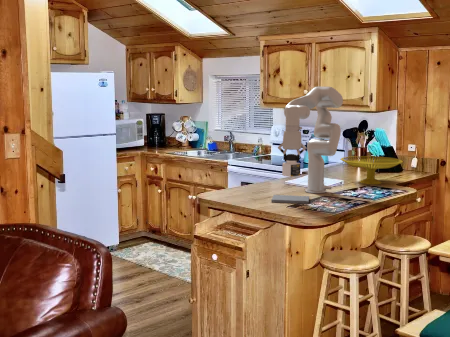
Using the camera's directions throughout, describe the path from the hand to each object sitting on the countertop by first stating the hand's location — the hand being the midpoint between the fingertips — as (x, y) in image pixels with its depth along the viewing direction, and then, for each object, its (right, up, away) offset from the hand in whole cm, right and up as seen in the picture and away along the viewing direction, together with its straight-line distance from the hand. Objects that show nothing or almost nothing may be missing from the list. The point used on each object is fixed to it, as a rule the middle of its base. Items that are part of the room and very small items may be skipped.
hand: (291, 161), depth 327 cm
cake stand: (+59, -13, +64) cm, 88 cm away
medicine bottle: (0, -8, +1) cm, 8 cm away
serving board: (0, -22, +3) cm, 22 cm away
